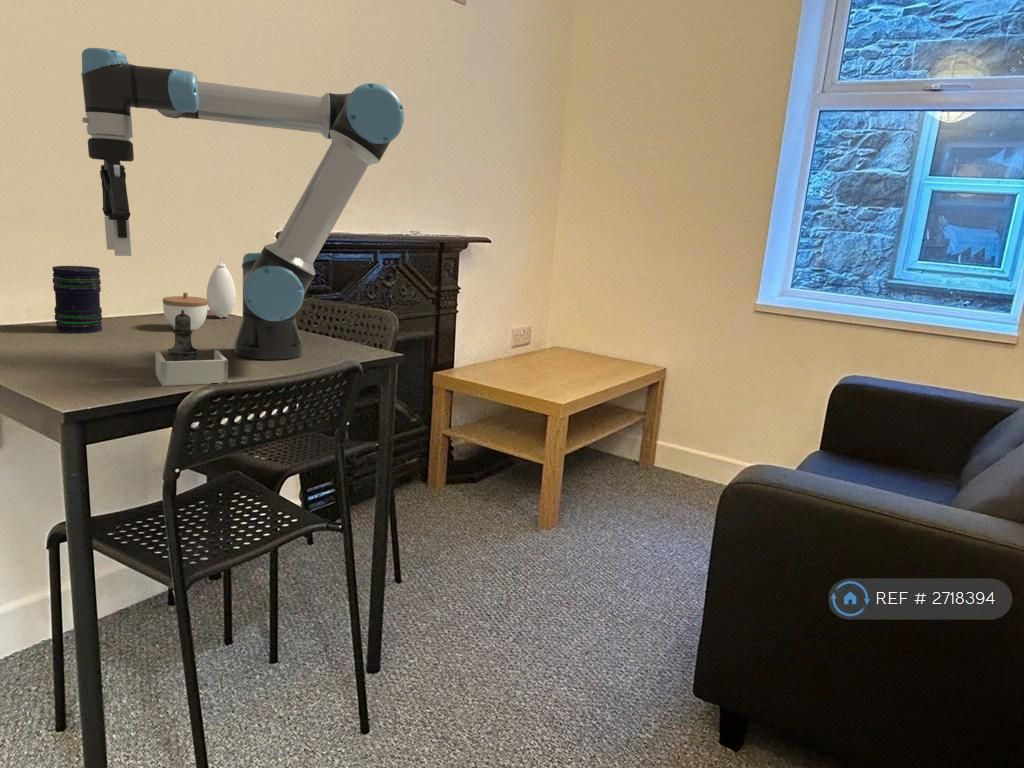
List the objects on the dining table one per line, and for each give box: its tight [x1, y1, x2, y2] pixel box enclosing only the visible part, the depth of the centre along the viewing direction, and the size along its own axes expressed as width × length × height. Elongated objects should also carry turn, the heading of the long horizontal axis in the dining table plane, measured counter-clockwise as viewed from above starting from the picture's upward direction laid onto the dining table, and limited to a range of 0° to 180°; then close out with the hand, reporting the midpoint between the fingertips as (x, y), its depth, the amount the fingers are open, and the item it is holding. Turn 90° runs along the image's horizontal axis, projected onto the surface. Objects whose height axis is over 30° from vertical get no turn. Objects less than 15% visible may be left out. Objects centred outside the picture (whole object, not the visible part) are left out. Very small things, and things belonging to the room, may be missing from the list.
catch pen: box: [154, 350, 229, 387], centre depth 140 cm, size 12×9×4 cm
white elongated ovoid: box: [206, 255, 237, 319], centre depth 207 cm, size 8×8×18 cm
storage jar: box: [52, 265, 103, 335], centre depth 173 cm, size 10×10×15 cm
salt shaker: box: [166, 310, 199, 361], centre depth 148 cm, size 6×6×12 cm
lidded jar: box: [162, 292, 209, 331], centre depth 188 cm, size 11×11×9 cm
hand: (118, 252), depth 141 cm, fingers open, 13 cm apart
